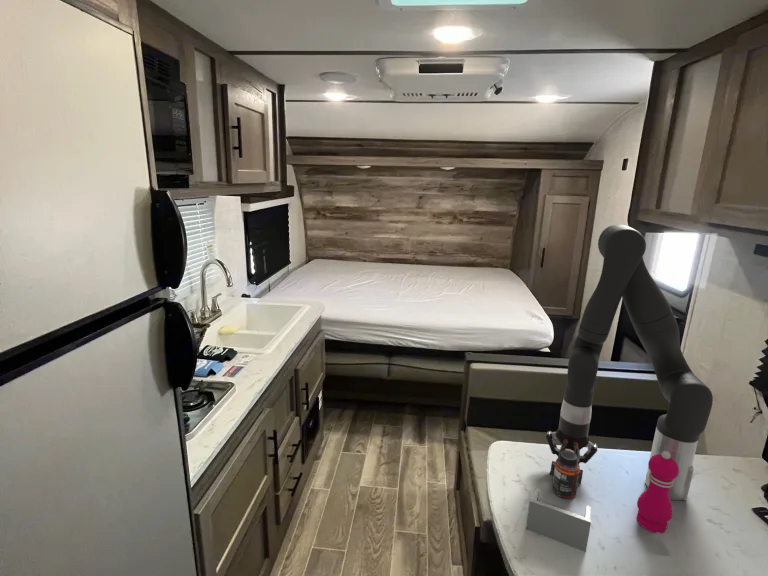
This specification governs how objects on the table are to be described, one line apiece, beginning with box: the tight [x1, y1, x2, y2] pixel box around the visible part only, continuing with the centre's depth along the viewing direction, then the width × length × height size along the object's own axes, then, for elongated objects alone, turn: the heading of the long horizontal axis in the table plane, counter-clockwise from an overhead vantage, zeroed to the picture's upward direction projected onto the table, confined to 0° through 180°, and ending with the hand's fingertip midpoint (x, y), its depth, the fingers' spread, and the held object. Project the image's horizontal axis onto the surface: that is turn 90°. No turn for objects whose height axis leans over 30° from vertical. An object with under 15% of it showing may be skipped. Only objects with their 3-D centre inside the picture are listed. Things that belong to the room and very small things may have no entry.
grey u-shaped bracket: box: [525, 488, 592, 552], centre depth 102 cm, size 13×11×8 cm
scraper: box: [549, 449, 584, 485], centre depth 121 cm, size 8×8×6 cm
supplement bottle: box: [552, 451, 581, 499], centre depth 113 cm, size 6×6×11 cm
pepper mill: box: [636, 451, 679, 534], centre depth 102 cm, size 7×7×20 cm
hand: (567, 469), depth 122 cm, fingers closed on scraper, 3 cm apart
